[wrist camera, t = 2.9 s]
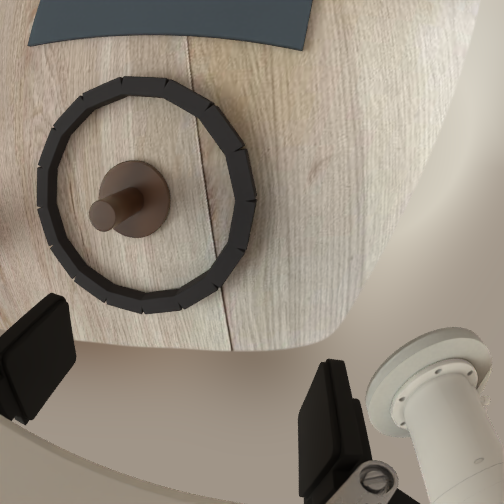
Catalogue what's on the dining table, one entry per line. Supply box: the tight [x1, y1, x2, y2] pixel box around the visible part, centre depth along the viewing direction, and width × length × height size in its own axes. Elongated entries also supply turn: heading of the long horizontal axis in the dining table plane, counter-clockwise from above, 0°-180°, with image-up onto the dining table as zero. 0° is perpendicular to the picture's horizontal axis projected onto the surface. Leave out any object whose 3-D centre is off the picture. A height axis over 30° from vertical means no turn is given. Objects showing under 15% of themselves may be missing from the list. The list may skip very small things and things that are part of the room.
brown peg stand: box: [89, 160, 170, 238], centre depth 25 cm, size 7×7×6 cm
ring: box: [37, 76, 257, 314], centre depth 27 cm, size 22×22×2 cm
